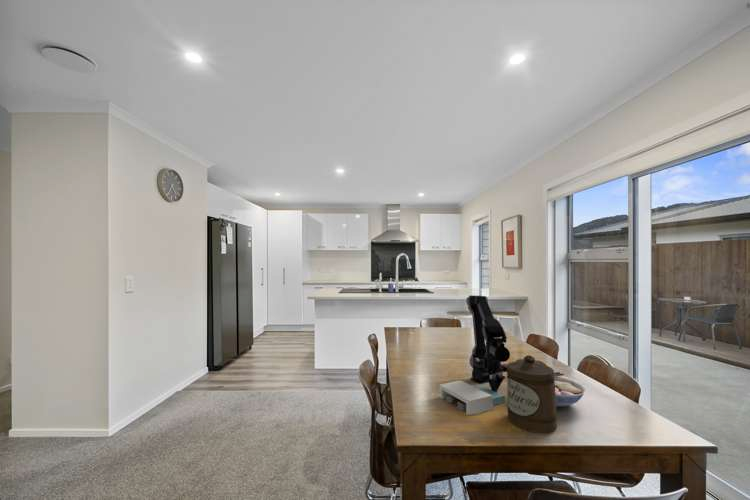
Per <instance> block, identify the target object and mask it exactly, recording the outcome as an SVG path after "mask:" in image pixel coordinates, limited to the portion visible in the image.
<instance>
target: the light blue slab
mask: <svg viewBox="0 0 750 500" xmlns="http://www.w3.org/2000/svg"><path fill="white" fill-rule="evenodd" d="M474 387H475V388H478V389H480V390H482V391H484V392H486V393H488V394H490V395H492V405H493V406H497V405H499V404H503V403H505V401H506V399H505V398H506V397H505V395H503V394H501V393H499V392H498V391H497V392H495V391H493V390H491V388H488V387H487V386H484V385H477V386H474Z"/></svg>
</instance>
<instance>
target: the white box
mask: <svg viewBox="0 0 750 500" xmlns="http://www.w3.org/2000/svg"><path fill="white" fill-rule="evenodd" d="M438 385H439V386H438V388H439V392H438V393H439V398H440V399H445V401H446V402H447V403H449V404H453V403H454V398H455V399H458V400H459V401H457V409H459V410H461V411H463V412H465V413H466V415H468V416H473V415H476V414H480V413H485V412H489V411H492V410H493V409H494V408H493V407H494V405H492V395H490V394H488V393H486V392H484V391H482V390H480V389H478V388H475V387H476V386H474V385H471V384H469V383H467V382H465V381H463V380H456V381H451V382H445V383H440V384H438Z"/></svg>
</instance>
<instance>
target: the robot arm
mask: <svg viewBox="0 0 750 500" xmlns="http://www.w3.org/2000/svg"><path fill="white" fill-rule="evenodd" d="M465 301H466V305H467V308H468V311H469V312H470V313H471V316H472V317H471V318H472V325H473V337H474V340H473V341H474V346H473V348H472V349H471V355H470V357H469V366H470V367H471V368H472V370H471V377H470V380H472V381H474V382H476V383H478V384H483V383H488V384H489V387H490V389H491V390H493V391H495V392H497V393H498V391H499V388H500V386H501V385H502V383H503V381H504V380H505V379H506V376H505V375H503V373H507V364H508V363H506V364H505V362H507V361H508V360H509V359H510V357H511V352H510V350H509V349H508V347H506V346H505V343H507V339H508V337H507V336H506V335H507V334H506V332H505V329H504V327H503V325H502V324H501V322H500V321H499V320H498V319H496V318H495V317H494V314H493V312H492V310H491V307H490V304H489V301H488V297H487V296H486V295H470V294H469V296H468V297H466V300H465Z"/></svg>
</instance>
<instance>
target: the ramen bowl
mask: <svg viewBox="0 0 750 500" xmlns="http://www.w3.org/2000/svg"><path fill="white" fill-rule="evenodd" d="M562 376H565V374H564V373H563V372H562V373H561V372H560V371H556V372H555V371H554V382H555V396H556V408H559V407H567V406H571V405H574V404H577V403H578V402H579V401H580V400H581V398H582V397H583V396H584V394H585V392H586V390H587V389H586V388H585V386H584V385H582V384H581V383H579V382H577V381H574V380H572V379H569V378H566V377H562Z"/></svg>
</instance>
